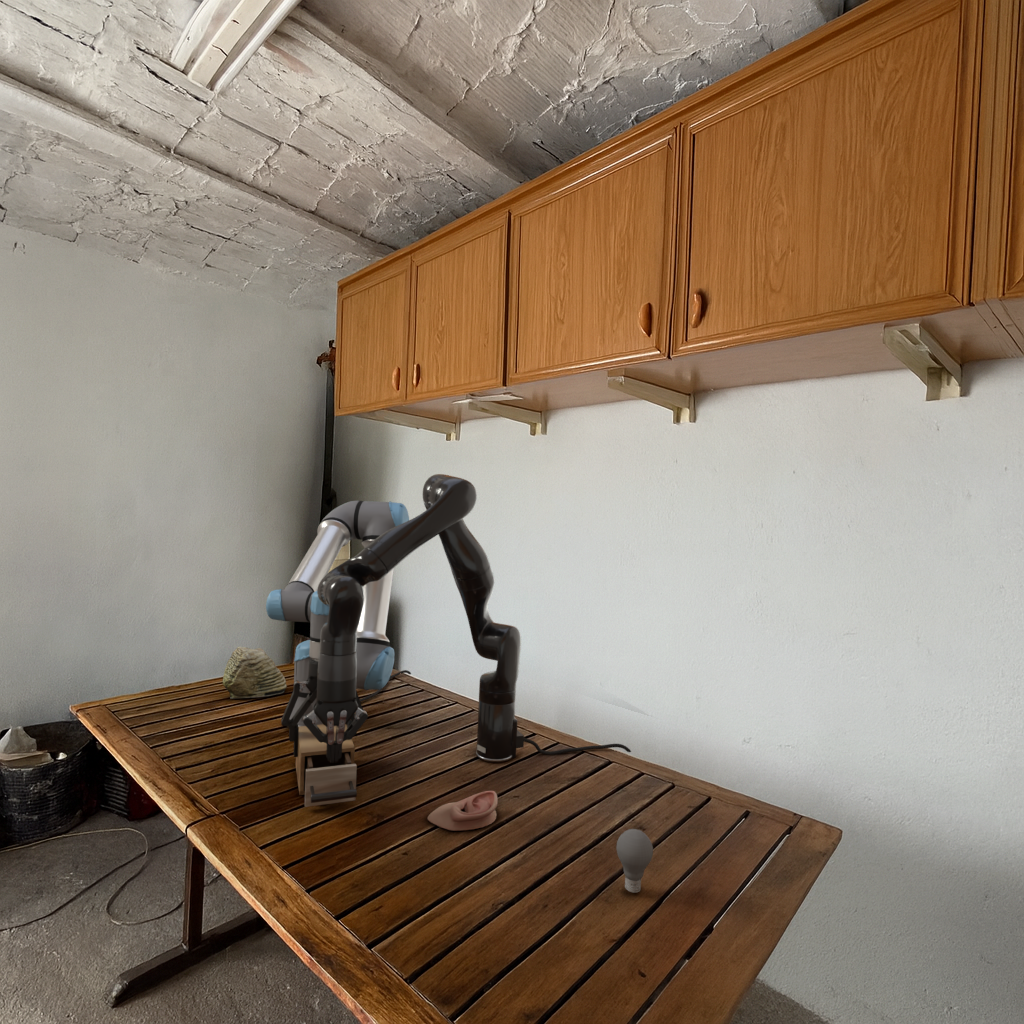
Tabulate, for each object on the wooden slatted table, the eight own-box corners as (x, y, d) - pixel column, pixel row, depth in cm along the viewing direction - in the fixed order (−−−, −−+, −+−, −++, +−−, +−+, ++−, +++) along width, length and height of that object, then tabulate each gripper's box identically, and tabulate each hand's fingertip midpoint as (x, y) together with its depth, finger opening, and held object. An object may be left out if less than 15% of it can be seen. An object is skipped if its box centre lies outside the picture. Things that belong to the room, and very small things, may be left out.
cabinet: (353, 788, 138) (354, 747, 138) (299, 795, 134) (300, 752, 134) (344, 759, 153) (345, 722, 153) (295, 764, 149) (296, 726, 149)
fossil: (218, 695, 195) (220, 647, 195) (278, 685, 208) (279, 640, 207) (228, 703, 189) (230, 653, 188) (289, 692, 201) (290, 645, 201)
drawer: (359, 813, 125) (360, 777, 125) (306, 821, 122) (308, 783, 122) (346, 770, 145) (347, 739, 145) (300, 775, 141) (301, 743, 141)
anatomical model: (422, 806, 123) (441, 781, 134) (422, 826, 123) (440, 799, 134) (489, 816, 120) (502, 789, 132) (488, 836, 121) (501, 808, 132)
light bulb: (610, 879, 108) (613, 822, 108) (644, 879, 109) (647, 822, 109) (619, 902, 102) (622, 840, 102) (655, 901, 103) (658, 840, 103)
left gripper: (271, 664, 138) (268, 764, 139) (380, 659, 147) (376, 752, 147) (271, 656, 145) (267, 751, 145) (374, 651, 154) (371, 740, 154)
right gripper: (303, 681, 119) (299, 773, 120) (374, 677, 124) (370, 765, 125) (300, 671, 126) (297, 757, 127) (368, 667, 131) (364, 750, 132)
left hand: (322, 752), depth 146 cm, fingers closed on cabinet, 11 cm apart
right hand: (333, 761), depth 126 cm, fingers closed
